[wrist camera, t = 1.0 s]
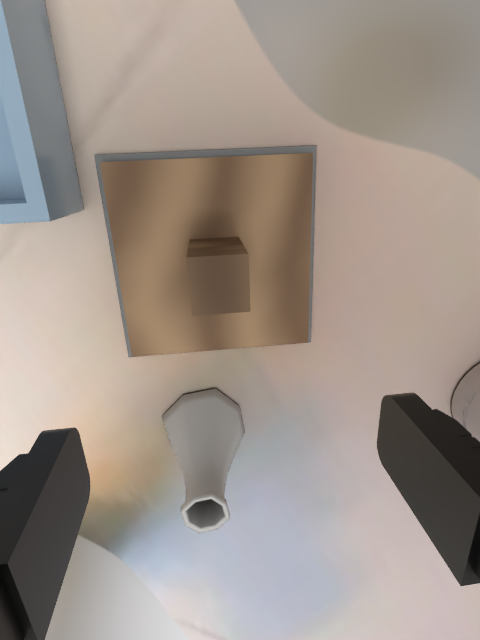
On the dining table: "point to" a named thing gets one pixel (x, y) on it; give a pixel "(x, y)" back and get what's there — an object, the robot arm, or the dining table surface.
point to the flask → (204, 453)
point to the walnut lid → (212, 250)
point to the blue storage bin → (33, 121)
